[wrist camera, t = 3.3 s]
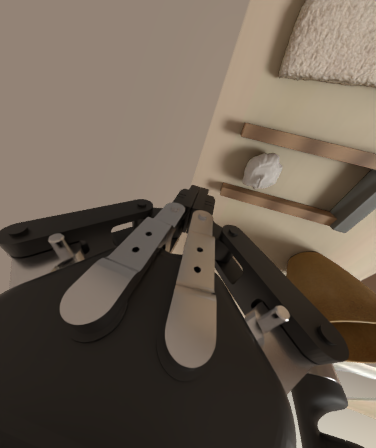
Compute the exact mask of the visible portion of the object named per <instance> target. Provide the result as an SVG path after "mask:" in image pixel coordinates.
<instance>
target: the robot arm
mask: <svg viewBox="0 0 376 448" xmlns="http://www.w3.org/2000/svg"><path fill="white" fill-rule="evenodd" d="M208 191H209V189H205V188H202V187H201V188H200V187H198V186H195V185H192V186H191V187H190V189H189V190H187V189H183V190H181V191H180V192H179V194H178V195H177V197H176V198H175V200H174V201H173V203H168V204H166V205H165V207H164V208H153V204H152V203H151V202H150V201H148V200H144V199H138V200H133V201H128V202H123V203H118V204H113V205H108V206H102V207H98V208H93V209H87V210H82V211H77V212H72V213H67V214H62V215H57V216H52V217H46V218H41V219H36V220H32V221H26V222H21V223H16V224H13V225H10V226H8V227H5V228H4V229H2V230H1V231H0V246H1V247H2V248H3V249H4V250H5V251H6V252H7V255H8V256H9V257H10V258H11V259H12V262H11V275H10V289H9V290H7V291H5V292H4V293H2V294H0V448H296V432H295V424H294V419H293V414H292V410H291V406H290V403H289V400H288V397H287V394H288V393H289V392H290V391H291V392H292V396H293V401H294V405H295V410H296V415H297V420H298V425H299V430H300V436H301V442H302V447H303V448H364V447H362V446H360V445H358V444H355V443H352V442H350V441H347V440H346V441H345V440H343V439H340V438H337V437H334V436H331V435H328V434H324V433H322V432H320V431H319V430H318V426H317V424H318V421H319V419H320V418H321V417H322V416H323V415H325V414H326V413H328V412H331V411H337V410H342V409H345V408H346V407H347V406H348V401H347V398H346V395H345V393H344V391H343V388H342V386H341V384H340V381H339V378H338V376H337V374H336V371H335V369H334V366H333V364H332V363H337V362H343V361H346V360H347V359H348V358H349V349H348V346H347V344H346V342H345V340H344V338H343V337H342V335H341V334H340V332H339V331H338V330H337V329H336V328H335V327H334V326H333V324H332V323H331V322H330V321H329V320H328V319H327V318H326V317H325V316H324V315H323V314H322V313H321V312H320V311H319V310H318V309H317V308H316V307H315V306H314V305H313V304H312V303H311V302H310V301H309V300H308V299H307V298H306V297H305V296H304V295H303V294H302V292H301V291H300V290H299V289H298V288H297V287H296V286H295V285H294V284H293V283H292V282H291V281H290V280H289V279H288V278H287V277H286V276H285V275H284V274H283V273H282V272H281V271H280V270H279V269H278V268H277V267H276V266H275V265H274V264H273V263H272V262H271V261H270V259H269V258H268V257H267V256H266V255H265V254H264V253H263V252H262V251H261V250H260V249H259V248H258V247H257V246H256V245H255V244H254V243H253V242H252V241H251V240H250V239H249V238H248V237H247V236H246V235H245V234H244V233H243V232H242V231H241V230H240V229H239V228H237V227H235V226H232V225H226V226H224V227H223V228H222V227H220V226H219V225H217V224H216V223H215V222H214V221H213V217H212V215H213V209H214V204H215V199H214V197H213V196H209V195H208ZM128 222H132V225H133V227H130V228H126V229H123V230H120V231H116V232H113V233H111V230H112V228H113V227H115V226H117V225H121V224H125V223H128ZM186 230H187V231H186ZM182 232H184V233H185V232H186V233H188V235H187V239H186V243H185V247H184V251H183V255H179V254H172V252H173V250H174V248H175V246H176V244H177V242H178V241H179V238H180V235H181V233H182ZM233 256H234V257H235V258H236V259H237V261H238V262H239V263H240V265H241V266H242V268H243V271H242V269H241V268H240V267H239V265H238V264H237V263H236V262H235V260H234V259H233V258H232V257H233ZM215 268H216V270H217V272H218V273H219V275H220V276H221V278H222V280H223V281H224V283H225V284H226V286H227V288H228V289H229V291H230V292H231V294H232V295H233V297H234V299H235V300H236V302H237V303H238V305H239V307H240V308H241V310H242V311H243V313H244V315H245V319H244V317H243V316H242V314H241V312H240V310H239V309H238V307H237V305H236V304H235V302H234V300H233V298H232V297H231V295H230V293H229V292H228V290H227V288H226V286H225V285H224V283H223V281H222V280H221V279H220V277H219V276H218V275H217V274H216V273H215V272H214V270H215Z"/></svg>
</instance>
